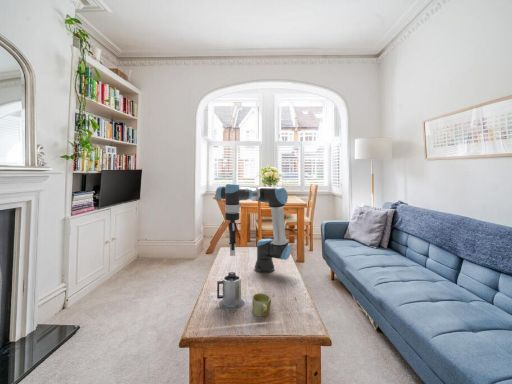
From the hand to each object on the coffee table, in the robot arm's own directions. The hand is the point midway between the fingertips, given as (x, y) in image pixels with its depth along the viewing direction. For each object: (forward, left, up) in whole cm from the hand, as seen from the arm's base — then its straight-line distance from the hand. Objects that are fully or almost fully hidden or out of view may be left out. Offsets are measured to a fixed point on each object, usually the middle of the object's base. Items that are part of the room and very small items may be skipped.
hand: (232, 255), depth 136 cm
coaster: (0, 0, -27) cm, 27 cm away
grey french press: (+2, 0, -26) cm, 26 cm away
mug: (-14, +13, -27) cm, 33 cm away
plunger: (0, 0, -23) cm, 23 cm away
